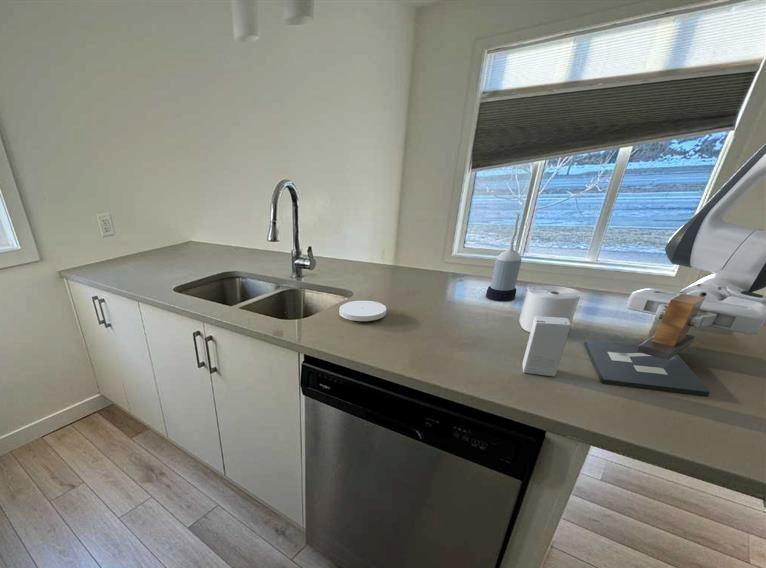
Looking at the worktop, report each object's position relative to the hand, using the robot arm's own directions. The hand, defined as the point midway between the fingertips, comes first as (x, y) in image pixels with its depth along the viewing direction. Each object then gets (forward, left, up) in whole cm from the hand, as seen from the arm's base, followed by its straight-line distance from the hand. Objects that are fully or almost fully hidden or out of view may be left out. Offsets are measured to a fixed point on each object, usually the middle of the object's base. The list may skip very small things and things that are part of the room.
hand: (677, 319), depth 80 cm
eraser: (0, -1, -6) cm, 7 cm away
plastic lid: (+65, -17, -12) cm, 68 cm away
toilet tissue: (+18, -19, -12) cm, 29 cm away
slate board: (+2, -1, -11) cm, 12 cm away
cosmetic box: (+21, +7, -12) cm, 25 cm away
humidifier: (+27, -43, -12) cm, 52 cm away
